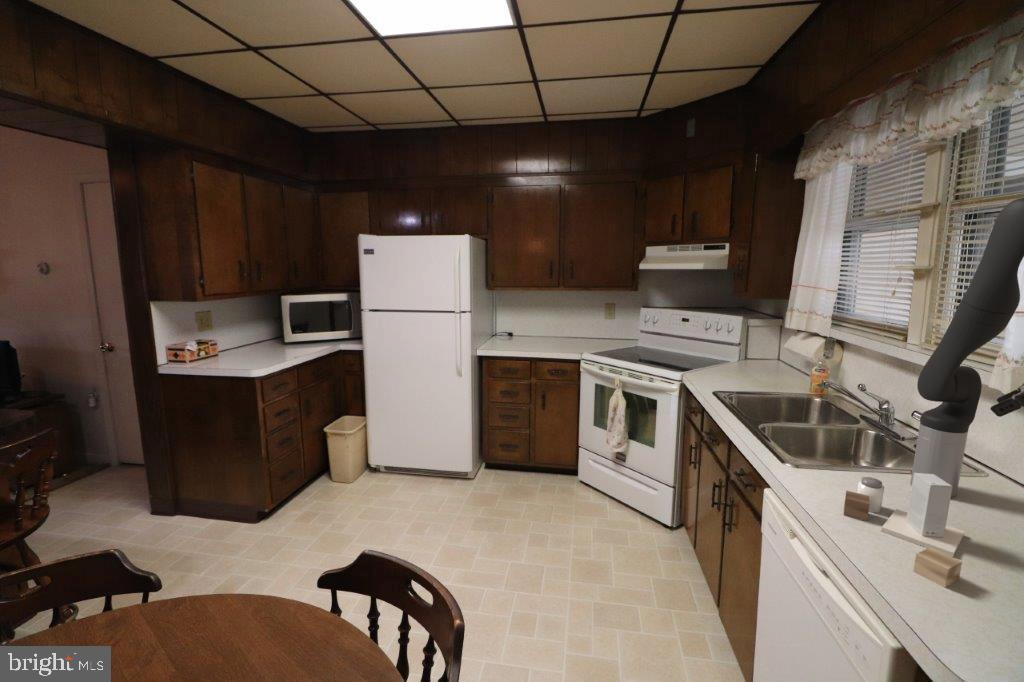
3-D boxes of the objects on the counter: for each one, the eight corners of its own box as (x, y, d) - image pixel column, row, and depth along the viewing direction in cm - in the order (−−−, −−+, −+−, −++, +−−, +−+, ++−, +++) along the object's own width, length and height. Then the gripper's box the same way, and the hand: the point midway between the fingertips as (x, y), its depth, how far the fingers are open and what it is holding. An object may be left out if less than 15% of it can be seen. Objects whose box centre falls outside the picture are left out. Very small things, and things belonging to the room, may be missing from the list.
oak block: (927, 565, 95) (930, 547, 94) (958, 580, 90) (962, 561, 90) (913, 572, 93) (916, 553, 92) (944, 588, 88) (948, 569, 88)
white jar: (859, 500, 120) (862, 474, 118) (883, 508, 116) (887, 481, 115) (852, 506, 116) (856, 480, 115) (877, 515, 113) (881, 487, 111)
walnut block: (844, 507, 116) (846, 490, 115) (866, 513, 114) (869, 495, 113) (843, 515, 113) (845, 498, 112) (867, 521, 110) (869, 503, 109)
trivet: (895, 512, 114) (896, 509, 113) (963, 535, 104) (964, 531, 104) (881, 531, 106) (881, 527, 106) (953, 557, 97) (953, 552, 97)
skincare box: (944, 538, 102) (954, 486, 100) (921, 536, 102) (930, 484, 100) (926, 522, 108) (934, 473, 105) (904, 520, 108) (912, 472, 106)
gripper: (1081, 340, 90) (986, 386, 101) (1078, 350, 81) (975, 399, 92) (1119, 373, 87) (1017, 416, 98) (1121, 386, 78) (1009, 432, 89)
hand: (997, 407), depth 95 cm, fingers open, 8 cm apart
